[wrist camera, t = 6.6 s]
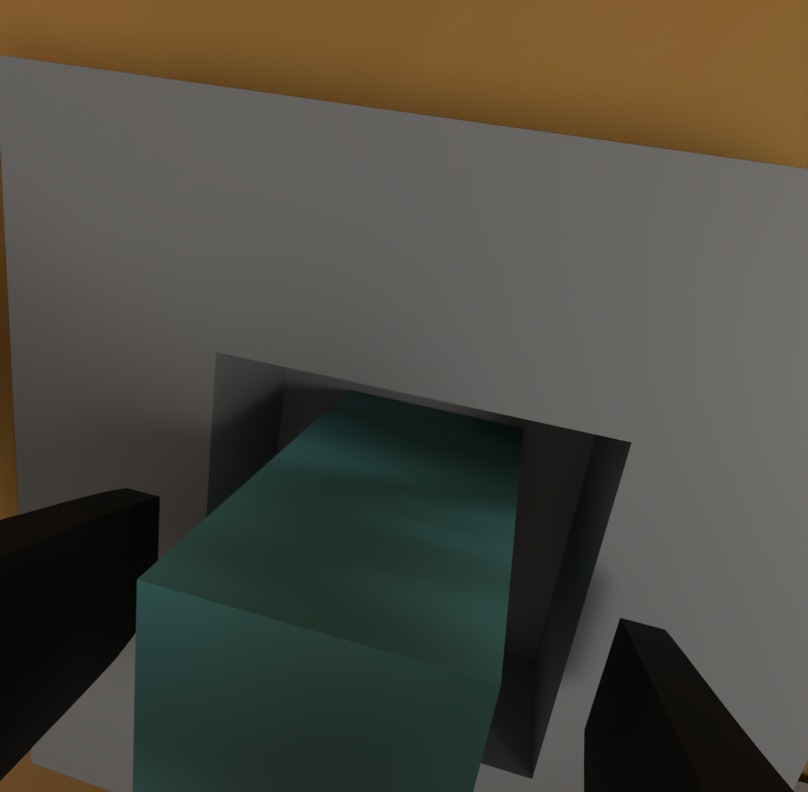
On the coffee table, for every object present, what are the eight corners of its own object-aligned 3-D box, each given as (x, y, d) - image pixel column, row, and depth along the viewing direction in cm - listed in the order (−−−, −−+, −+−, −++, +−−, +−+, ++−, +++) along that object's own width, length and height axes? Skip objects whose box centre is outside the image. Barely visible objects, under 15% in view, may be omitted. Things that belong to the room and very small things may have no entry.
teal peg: (523, 428, 12) (501, 686, 5) (487, 582, 13) (432, 950, 6) (350, 389, 12) (136, 579, 6) (329, 540, 14) (131, 839, 7)
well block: (883, 210, 10) (1073, 206, 7) (655, 800, 15) (693, 997, 11) (156, 102, 13) (-5, 54, 9) (143, 643, 17) (31, 762, 13)
